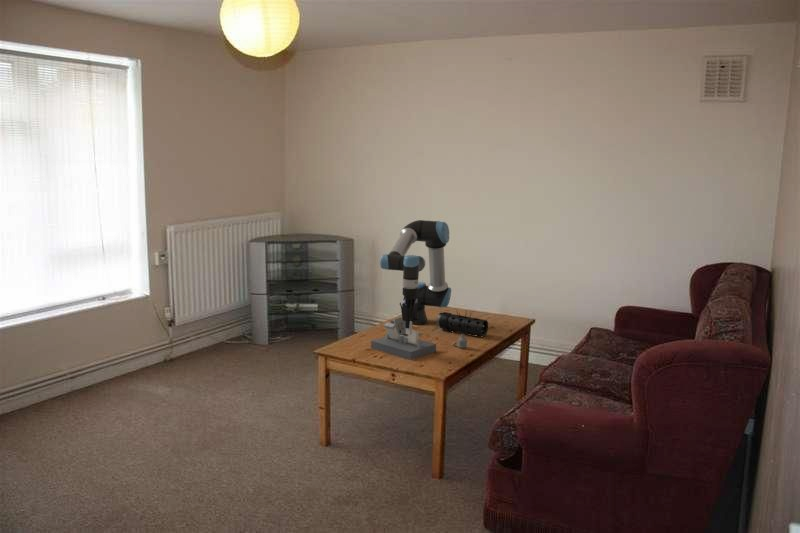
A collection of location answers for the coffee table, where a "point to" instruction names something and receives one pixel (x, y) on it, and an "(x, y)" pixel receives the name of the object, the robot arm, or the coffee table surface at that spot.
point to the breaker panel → (403, 347)
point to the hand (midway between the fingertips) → (408, 334)
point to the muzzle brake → (462, 324)
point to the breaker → (392, 331)
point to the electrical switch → (400, 325)
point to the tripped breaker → (414, 335)
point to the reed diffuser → (462, 340)
